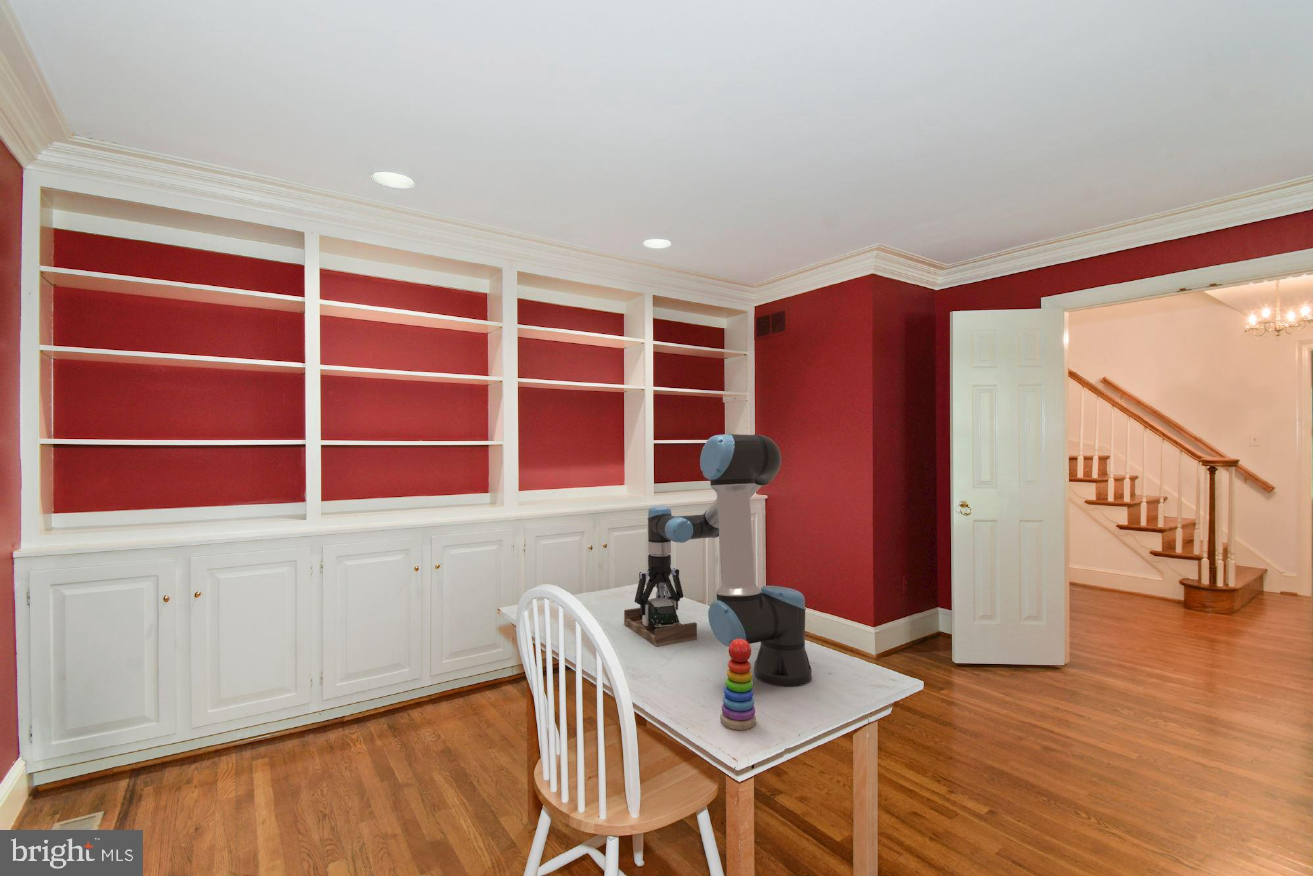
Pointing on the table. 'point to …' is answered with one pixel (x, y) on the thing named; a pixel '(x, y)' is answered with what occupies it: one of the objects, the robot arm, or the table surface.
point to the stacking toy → (738, 688)
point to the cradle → (659, 630)
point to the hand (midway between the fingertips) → (659, 622)
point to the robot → (662, 591)
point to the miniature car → (661, 613)
